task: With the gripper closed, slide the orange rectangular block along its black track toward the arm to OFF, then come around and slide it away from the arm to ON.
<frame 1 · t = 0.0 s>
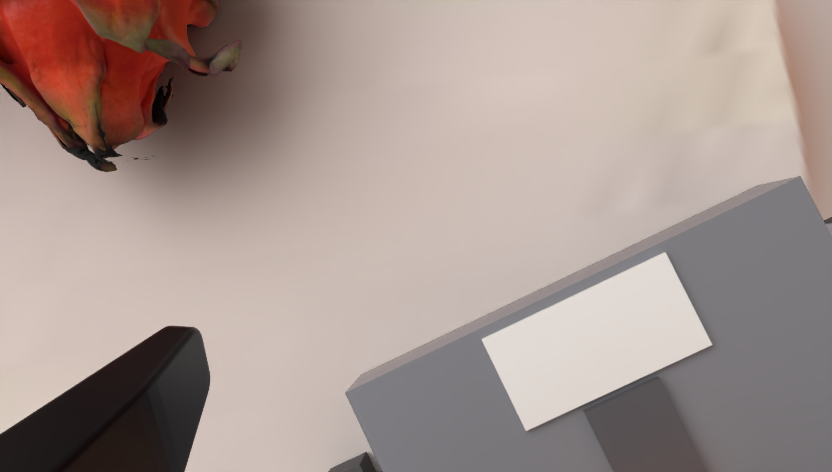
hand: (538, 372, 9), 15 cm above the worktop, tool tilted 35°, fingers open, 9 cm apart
dragon fruit: (150, 20, 25), on the worktop
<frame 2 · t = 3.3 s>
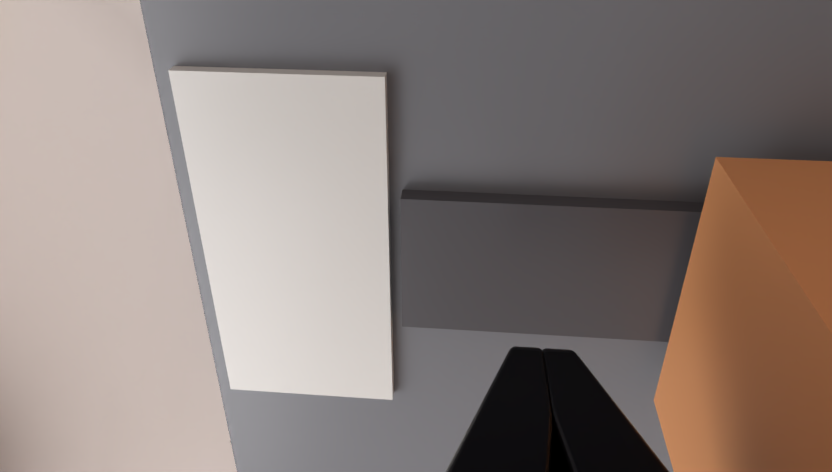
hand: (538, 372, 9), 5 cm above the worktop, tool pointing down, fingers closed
panel: (761, 185, 13), on the worktop
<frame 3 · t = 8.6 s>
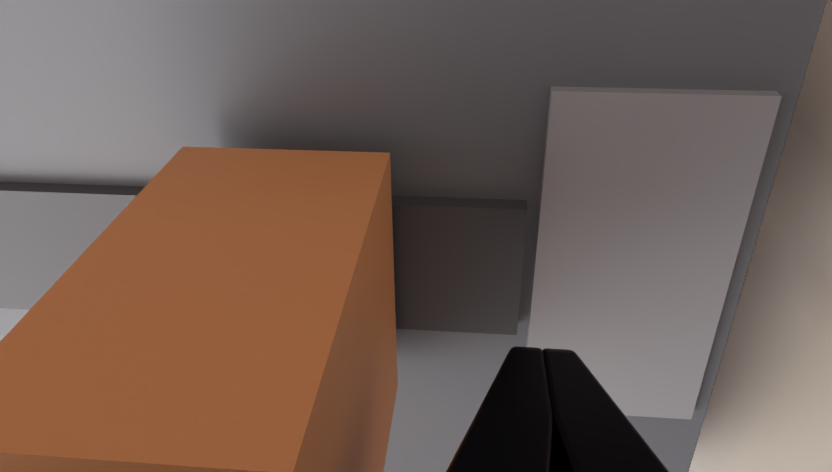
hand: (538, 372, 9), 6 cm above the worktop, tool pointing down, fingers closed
orange rectangular block: (244, 412, 8), point 6 cm above the worktop, slide at -3.0 cm, touching gripper
panel: (199, 170, 14), on the worktop
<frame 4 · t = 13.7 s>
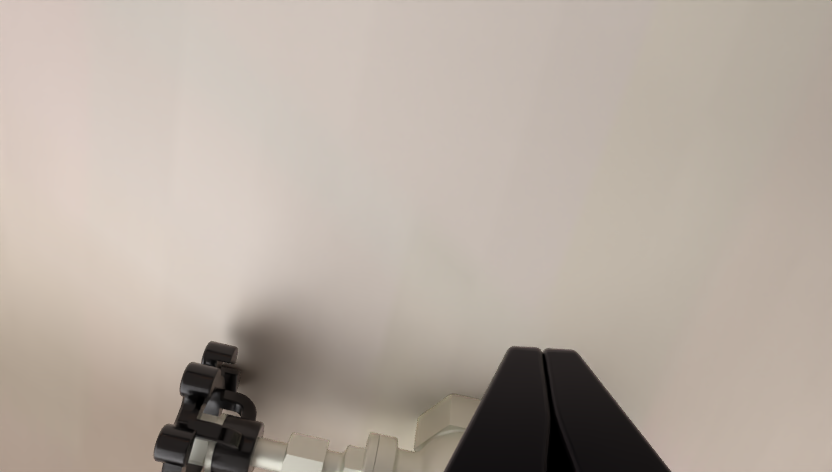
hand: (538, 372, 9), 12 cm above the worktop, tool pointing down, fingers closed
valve: (368, 400, 27), on the worktop
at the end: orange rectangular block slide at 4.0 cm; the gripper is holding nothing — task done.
